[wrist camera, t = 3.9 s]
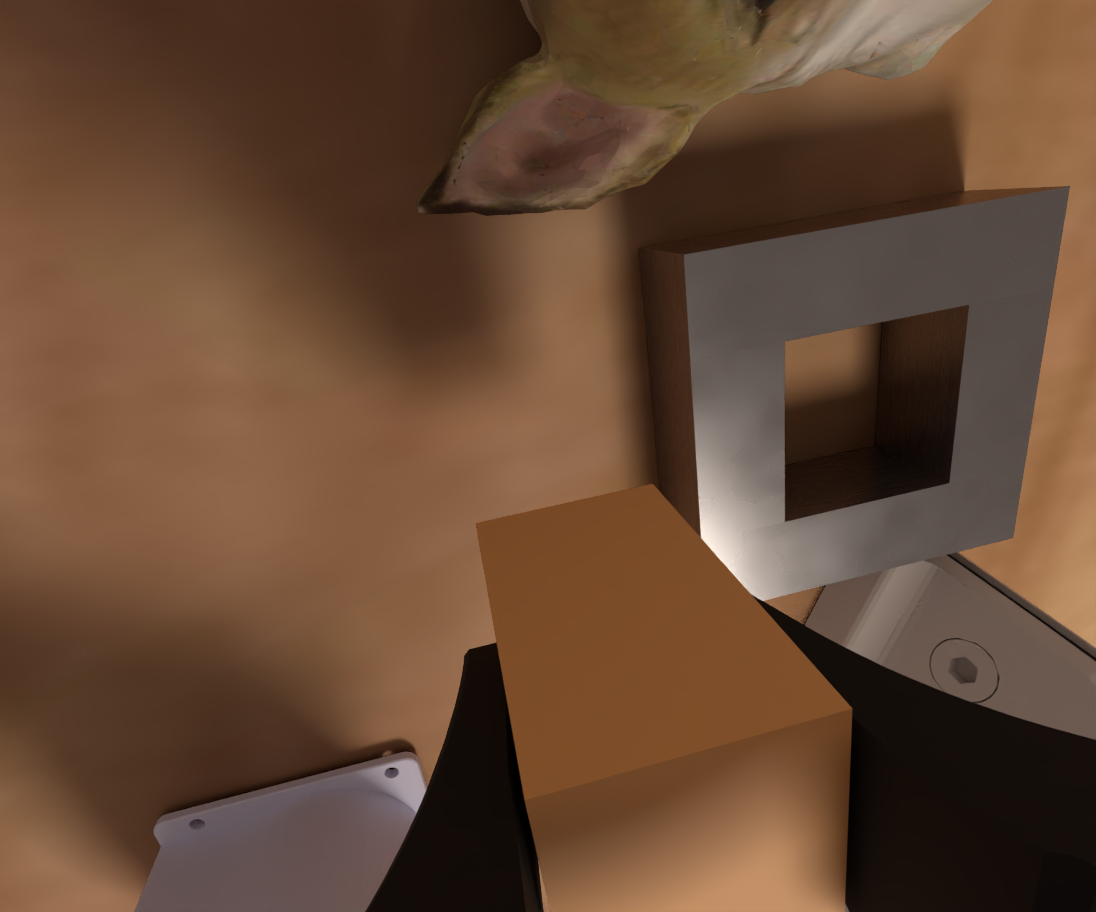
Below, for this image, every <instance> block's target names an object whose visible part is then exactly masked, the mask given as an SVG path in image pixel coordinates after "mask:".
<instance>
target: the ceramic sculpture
mask: <svg viewBox="0 0 1096 912" xmlns="http://www.w3.org/2000/svg"><path fill="white" fill-rule="evenodd" d="M992 1H993V0H520V2H521V4H522V6H523V9H524V11H525V14H526V16H527V18H528V20H529V22H530V23H531V24H532V26H533V27H534V28H535V30H536V31H537V32H538V34H539V36H540V39H541V41H542V46H541V49H540V51H539V52H538V53H537V54H536V55H534V56H533V57H530V58H527V59H523V60H520V61H518V62H517V63H516V64H514V65H513V66H512V67H510V68H509V69H507V70H506V71H505V72H503V73H502V74H500V75H498V76H497V77H495V78H493V79H492V80H491V81H490V82H488V83H487V84H486V85H485V86H484V87H483V88H482V89H481V90H480V91H479V92H478V93H477V95H476V96H475V97H474V99H473V101H472V103H471V106H470V108H469V110H468V112H467V114H466V117H465V119H464V121H463V123H462V125H461V128H460V130H459V132H458V134H457V136H456V139H455V141H454V143H453V145H452V147H451V149H450V151H449V154H448V156H447V158H446V160H445V162H444V164H443V166H442V168H441V169H440V170H439V172H438V173H437V174H436V175H435V177H434V178H433V179H432V180H431V181H430V183H429V184H428V185H427V186H426V188H425V189H424V190H423V192H422V193H421V195H420V197H419V198H418V200H417V201H416V203H417V208H418V212H420V213H421V214H452V213H465V212H475V213H478V214H482V215H486V216H489V215H510V214H523V213H543V212H548V211H553V210H567V209H587V208H588V207H590V206H592V205H594V204H595V203H597V202H598V201H600V200H601V199H603V198H605V197H608V196H610V195H613V194H615V193H618V192H620V191H623V190H625V189H628V188H633V187H637V186H641V185H645V184H646V183H647V182H648V181H649V180H650V179H651V178H652V177H653V176H654V175H655V174H656V173H657V172H658V171H660V170H661V169H662V168H663V167H664V166H665V165H666V164H667V163H668V162H669V161H670V160H671V159H672V158H673V157H675V156H676V155H677V154H678V153H679V152H680V151H681V149H682V148H683V146H684V145H685V143H686V141H687V140H688V138H689V137H690V135H691V133H692V131H693V130H694V128H695V126H696V124H697V123H698V122H699V121H700V120H701V119H702V118H703V117H704V116H705V115H706V114H707V113H708V112H709V111H710V110H711V109H712V108H713V107H714V106H716V105H717V104H718V103H720V102H723V101H725V100H728V99H729V98H731V97H733V96H734V95H736V94H738V93H750V94H759V93H763V92H767V91H770V90H775V89H781V88H786V87H799V86H802V85H803V84H804V83H805V82H807V81H808V80H809V79H811V78H812V77H813V76H820V75H822V74H824V73H826V72H828V71H834V70H838V69H843V68H844V69H847V70H850V71H853V72H856V73H859V74H863V75H867V76H873V77H878V78H882V79H885V80H889V79H894V78H898V77H902V76H906V75H908V74H910V73H913V72H915V71H917V70H919V69H921V68H923V67H925V66H926V64H927V63H928V62H929V61H930V60H931V58H932V57H933V56H934V55H935V54H936V53H937V51H938V50H939V49H940V48H941V47H942V45H943V44H944V43H945V42H946V41H947V40H948V39H950V38H951V37H952V36H953V35H954V34H955V33H956V32H958V31H959V30H960V29H961V28H962V27H963V26H964V25H966V24H967V23H968V22H969V21H970V20H971V19H972V18H974V17H975V16H976V15H977V14H978V13H979V12H980V11H982V10H983V9H984V8H985V7H986V6H987V5H988V4H990V3H991V2H992Z"/></svg>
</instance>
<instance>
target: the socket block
mask: <svg viewBox="0 0 1096 912" xmlns="http://www.w3.org/2000/svg"><path fill="white" fill-rule="evenodd" d="M1069 188H1070V186H1063V187H1040V188H1017V189H994V190H971V191H961V192H956V193H950V194H944V195H938V196H933V197H927V198H921V199H915V200H910V201H904V202H898V203H893V204H887V205H881V206H875V207H870V208H864V209H858V210H852V211H847V212H841V213H835V214H830V215H824V216H818V217H812V218H807V219H801V220H795V221H789V222H784V223H778V224H772V225H766V226H761V227H755V228H749V229H744V230H738V231H732V232H726V233H721V234H715V235H709V236H703V237H698V238H692V239H686V240H680V241H675V242H669V243H663V244H658V245H652V246H646V247H640V248H639V257H640V269H641V280H642V291H643V303H644V314H645V326H646V337H647V349H648V360H649V372H650V383H651V394H652V406H653V417H654V429H655V440H656V452H657V463H658V474H659V486H660V493H661V494H662V495H663V496H664V497H665V498H666V499H667V500H668V502H669V503H670V504H671V505H672V506H673V507H674V508H675V509H676V511H677V512H678V513H679V514H680V515H681V516H682V517H683V518H684V520H685V521H686V522H687V523H688V524H689V525H690V526H691V527H692V529H693V530H694V531H695V532H696V533H697V534H698V535H699V536H700V538H701V539H702V540H703V541H704V542H705V543H706V544H707V545H708V547H709V548H710V549H711V550H712V551H713V552H714V553H715V554H716V556H717V557H718V558H719V559H720V560H721V561H722V562H723V563H724V565H725V566H726V567H727V568H728V569H729V570H730V571H731V572H732V574H733V575H734V576H735V577H736V578H737V579H738V580H739V581H740V583H741V584H742V585H743V586H744V587H745V588H746V589H747V590H748V592H749V593H750V594H752V595H753V596H755V597H757V598H758V599H760V600H762V601H764V600H768V599H772V598H776V597H780V596H784V595H788V594H792V593H796V592H800V591H804V590H808V589H812V588H816V587H820V586H824V585H828V584H832V583H836V582H840V581H844V580H848V579H852V578H856V577H860V576H863V575H867V574H871V573H875V572H879V571H883V570H887V569H891V568H895V567H899V566H903V565H907V564H911V563H915V562H919V561H923V560H927V559H931V558H935V557H939V556H943V555H947V554H951V553H955V552H959V551H963V550H967V549H971V548H975V547H979V546H983V545H987V544H991V543H995V542H999V541H1003V540H1007V539H1011V538H1013V535H1014V529H1015V523H1016V516H1017V510H1018V504H1019V498H1020V492H1021V485H1022V479H1023V473H1024V467H1025V461H1026V455H1027V448H1028V442H1029V436H1030V430H1031V424H1032V417H1033V411H1034V405H1035V399H1036V393H1037V386H1038V380H1039V374H1040V368H1041V362H1042V355H1043V349H1044V343H1045V337H1046V331H1047V325H1048V318H1049V312H1050V306H1051V300H1052V294H1053V287H1054V281H1055V275H1056V269H1057V263H1058V256H1059V250H1060V244H1061V238H1062V232H1063V226H1064V219H1065V213H1066V207H1067V201H1068V195H1069ZM880 322H882V339H881V356H880V373H879V390H878V407H877V424H876V440H875V446H871V447H866V448H862V449H857V450H853V451H848V452H844V453H839V454H835V455H831V456H826V457H822V458H817V459H813V460H808V461H804V462H799V463H795V464H790V465H786V466H785V341H789V340H794V339H799V338H804V337H809V336H814V335H819V334H824V333H829V332H834V331H839V330H844V329H849V328H855V327H860V326H865V325H870V324H875V323H880Z"/></svg>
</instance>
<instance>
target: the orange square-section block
mask: <svg viewBox="0 0 1096 912" xmlns="http://www.w3.org/2000/svg"><path fill="white" fill-rule="evenodd" d="M476 528H477V534H478V540H479V545H480V551H481V557H482V562H483V568H484V574H485V579H486V585H487V591H488V596H489V602H490V608H491V613H492V619H493V625H494V630H495V636H496V642H497V647H498V653H499V659H500V664H501V670H502V675H503V681H504V687H505V692H506V698H507V704H508V709H509V715H510V721H511V726H512V732H513V738H514V743H515V749H516V755H517V760H518V766H519V772H520V777H521V783H522V789H523V794H524V800H525V804H526V809H527V813H528V817H529V822H530V826H531V830H532V835H533V839H534V843H535V847H536V852H537V856H538V860H539V865H540V869H541V873H542V878H543V882H544V886H545V891H546V895H547V899H548V903H549V908H550V912H845V890H846V864H847V837H848V811H849V785H850V759H851V732H852V708H851V706H850V705H849V704H848V703H847V702H846V701H845V700H844V699H843V697H842V696H841V695H840V694H839V693H838V692H837V691H836V690H835V688H834V687H833V686H832V685H831V684H830V683H829V682H828V681H827V679H826V678H825V677H824V676H823V675H822V674H821V673H820V672H819V670H818V669H817V668H816V667H815V666H814V665H813V664H812V663H811V661H810V660H809V659H808V658H807V657H806V656H805V655H804V653H803V652H802V651H801V650H800V649H799V648H798V647H797V646H796V644H795V643H794V642H793V641H792V640H791V639H790V638H789V637H788V635H787V634H786V633H785V632H784V631H783V630H782V629H781V628H780V626H779V625H778V624H777V623H776V622H775V621H774V620H773V619H772V617H771V616H770V615H769V614H768V613H767V612H766V611H765V610H764V608H763V607H762V606H761V605H760V604H759V603H758V602H757V601H756V599H755V598H754V597H753V596H752V595H751V594H750V593H749V592H748V590H747V589H746V588H745V587H744V586H743V585H742V584H741V583H740V581H739V580H738V579H737V578H736V577H735V576H734V575H733V574H732V572H731V571H730V570H729V569H728V568H727V567H726V566H725V565H724V563H723V562H722V561H721V560H720V559H719V558H718V557H717V556H716V554H715V553H714V552H713V551H712V550H711V549H710V548H709V547H708V545H707V544H706V543H705V542H704V541H703V540H702V539H701V538H700V536H699V535H698V534H697V533H696V532H695V531H694V530H693V529H692V527H691V526H690V525H689V524H688V523H687V522H686V521H685V520H684V518H683V517H682V516H681V515H680V514H679V513H678V512H677V511H676V509H675V508H674V507H673V506H672V505H671V504H670V503H669V502H668V500H667V499H666V498H665V497H664V496H663V495H662V494H661V493H660V491H659V490H658V489H657V488H656V487H655V486H654V485H653V484H649V485H645V486H640V487H636V488H631V489H627V490H622V491H618V492H613V493H609V494H604V495H600V496H596V497H591V498H587V499H582V500H578V501H573V502H569V503H564V504H560V505H555V506H551V507H546V508H542V509H538V510H533V511H529V512H524V513H520V514H515V515H511V516H506V517H502V518H497V519H493V520H488V521H484V522H480V523H476Z"/></svg>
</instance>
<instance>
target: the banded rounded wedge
mask: <svg viewBox="0 0 1096 912" xmlns="http://www.w3.org/2000/svg"><path fill="white" fill-rule="evenodd" d="M805 626H806V627H808V628H810V629H812V630H814V631H815V632H817V633H819V634H821V635H823V636H825V637H826V638H828V639H830V640H832V641H834V642H836V643H838V644H840V645H842V646H843V647H845V648H847V649H849V650H851V651H853V652H855V653H857V654H859V655H861V656H863V657H866V658H868V659H870V660H872V661H874V662H876V663H878V664H880V665H882V666H884V667H886V668H888V669H891V670H893V671H895V672H897V673H900V674H902V675H904V676H907V677H909V678H911V679H914V680H916V681H919V682H921V683H924V684H926V685H928V686H931V687H933V688H936V689H938V690H941V691H943V692H946V693H948V694H951V695H954V696H956V697H959V698H962V699H964V700H967V701H970V702H973V703H976V704H979V705H982V706H985V707H988V708H991V709H993V710H996V711H999V712H1002V713H1005V714H1008V715H1011V716H1014V717H1017V718H1021V719H1024V720H1027V721H1031V722H1034V723H1037V724H1041V725H1044V726H1047V727H1051V728H1054V729H1058V730H1062V731H1065V732H1069V733H1073V734H1076V735H1080V736H1084V737H1088V738H1091V739H1095V740H1096V648H1095V647H1094V646H1092V645H1091V644H1089V643H1088V642H1087V641H1085V640H1084V639H1082V638H1081V637H1079V636H1078V635H1076V634H1075V633H1074V632H1072V631H1071V630H1069V629H1068V628H1066V627H1065V626H1064V625H1062V624H1061V623H1059V622H1058V621H1056V620H1055V619H1053V618H1052V617H1051V616H1049V615H1048V614H1046V613H1045V612H1043V611H1042V610H1041V609H1039V608H1038V607H1036V606H1035V605H1033V604H1032V603H1030V602H1029V601H1028V600H1026V599H1025V598H1023V597H1022V596H1020V595H1019V594H1018V593H1016V592H1015V591H1013V590H1012V589H1010V588H1009V587H1008V586H1006V585H1005V584H1003V583H1002V582H1000V581H999V580H997V579H996V578H995V577H993V576H992V575H990V574H989V573H987V572H986V571H985V570H983V569H982V568H980V567H979V566H977V565H976V564H974V563H973V562H972V561H970V560H969V559H967V558H966V557H964V556H963V555H962V554H960V553H959V552H955V553H951V554H947V555H943V556H939V557H935V558H931V559H927V560H923V561H919V562H915V563H911V564H907V565H903V566H899V567H895V568H891V569H887V570H883V571H879V572H875V573H871V574H867V575H863V576H860V577H856V578H852V579H848V580H844V581H840V582H836V583H832V584H828V585H826V586H825V587H824V589H823V591H822V593H821V595H820V597H819V599H818V601H817V603H816V604H815V606H814V608H813V610H812V612H811V614H810V616H809V618H808V620H807V622H806V623H805ZM845 912H849V910H848V908H847V906H846V904H845Z"/></svg>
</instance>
